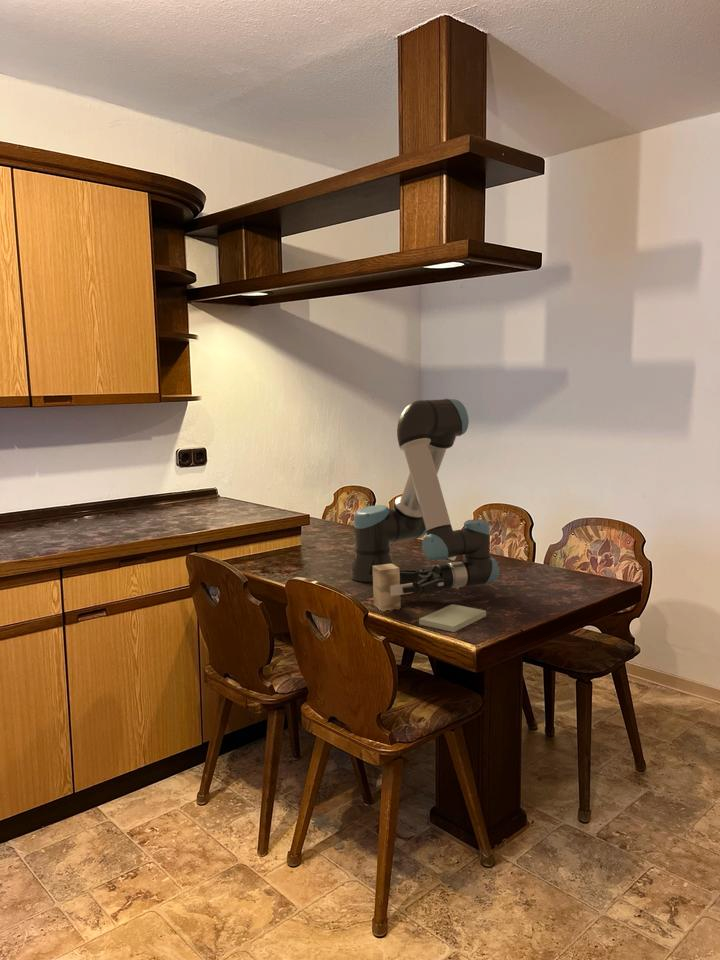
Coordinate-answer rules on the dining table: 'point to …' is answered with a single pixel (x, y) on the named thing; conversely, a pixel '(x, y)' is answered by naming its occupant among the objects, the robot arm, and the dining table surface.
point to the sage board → (452, 617)
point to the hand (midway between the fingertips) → (381, 585)
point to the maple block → (385, 586)
